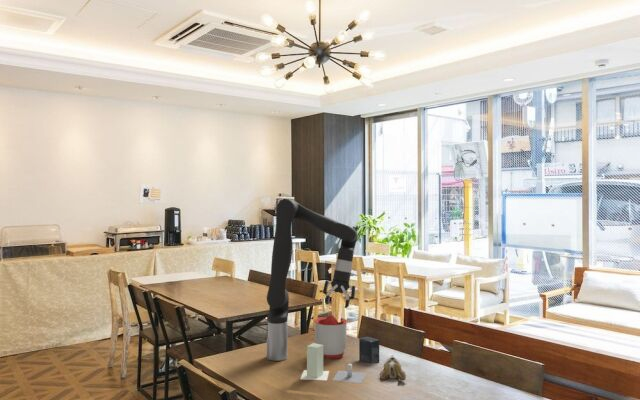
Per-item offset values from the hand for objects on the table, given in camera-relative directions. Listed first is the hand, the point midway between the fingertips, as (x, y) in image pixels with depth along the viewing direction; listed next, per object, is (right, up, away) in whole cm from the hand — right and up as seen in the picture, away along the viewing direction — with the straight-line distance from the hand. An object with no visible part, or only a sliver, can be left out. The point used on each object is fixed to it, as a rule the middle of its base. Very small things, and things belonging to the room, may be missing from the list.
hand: (336, 306), depth 220 cm
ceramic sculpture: (+23, -27, -14) cm, 39 cm away
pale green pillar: (-10, -26, -14) cm, 31 cm away
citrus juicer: (-2, -27, +15) cm, 31 cm away
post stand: (+5, -27, -16) cm, 32 cm away
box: (+15, -27, +6) cm, 32 cm away
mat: (-10, -27, -14) cm, 32 cm away
